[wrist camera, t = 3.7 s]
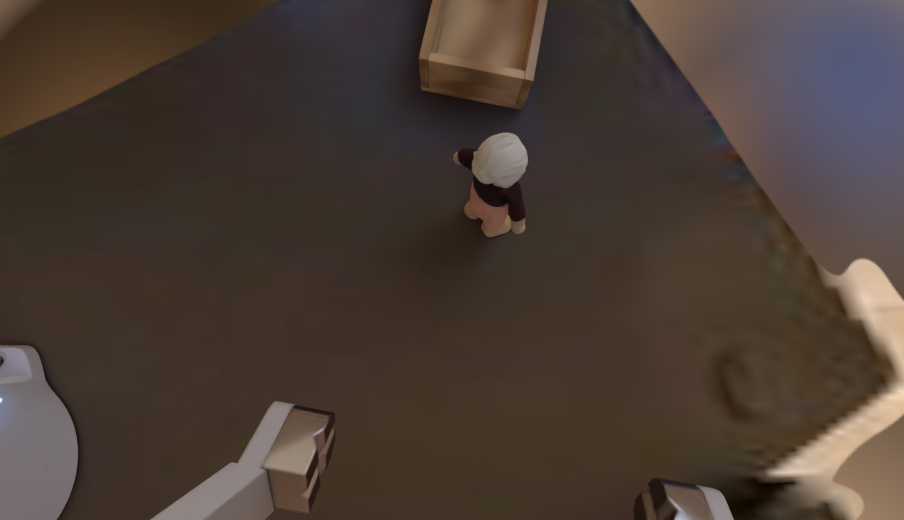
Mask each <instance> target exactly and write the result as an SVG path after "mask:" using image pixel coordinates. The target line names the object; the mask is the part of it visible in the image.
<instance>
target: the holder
mask: <svg viewBox="0 0 904 520" xmlns="http://www.w3.org/2000/svg"><path fill="white" fill-rule="evenodd" d="M547 2H548V0H432V3H431V8H430V12H429V16H428V20H427V25H426V29H425V33H424V37H423V42H422V46H421V50H420V54H419V69H420V83H421V90H423V91H428V92H433V93H438V94H443V95H448V96H453V97H458V98H463V99H468V100H473V101H478V102H484V103H489V104H494V105H499V106H504V107H509V108H514V109H519V110H523V107H524V105H525V102H526V99H527V97H528V94H529V91H530V89H531V86H532V83H533V81H534V75H535V69H536V64H537V58H538V53H539V47H540V41H541V36H542V30H543V25H544V19H545V13H546V8H547Z"/></svg>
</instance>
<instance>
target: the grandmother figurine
mask: <svg viewBox="0 0 904 520" xmlns="http://www.w3.org/2000/svg"><path fill="white" fill-rule="evenodd" d="M453 159H454V162H455V163H456V164H458V165H464V166H465V167H467V168H468V169H470V170H471V171H472V172H473V174H474V175H473V183H472V186H471V193H470V200H469V201H468V203H467V204H466V205H465V207H464V212H465V214H466V215H467V216H468V217H469V218H470V219H477V218H480V219H482V220H483V223H482V225H481V229H482V231H483V233H484V235H486V236H487V237H494V236H497V235H500V234H504V233H506V232H508V231H509V230H510V229H512V231H513V232H514V233H516V234H520V233H522V232H523V231H524V230H525V224H524V223H525V216H526V212H525V208H524V204H523V200H522V191H521V187H520V184H519V182H518V180H519V179H520V178H521V175H522V174H523V173H524V172H525V169H526V166H527V163H528V157H527V151H526V149H525V147H524V145H523V144H522V143H521V141H520V140H519V138H518V137H517V136H516V135H515V134H511V133H500V134H497V135H493V136H491V137H489V138H488V139H486V140H485V141H484V142H483V143H482V144H481V146H480V147H479V149H478V150H475V149H468V148H462V149H460V150H459V151H458V152H456V153H455V154H454V156H453ZM508 212H509V215H508Z"/></svg>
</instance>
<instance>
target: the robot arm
mask: <svg viewBox="0 0 904 520" xmlns="http://www.w3.org/2000/svg"><path fill="white" fill-rule="evenodd" d="M3 359H4V363H3V365H2V360H3ZM334 422H335V413H333V412H328V411H323V410H318V409H313V408H308V407H303V406H298V405H295V404H290V403H284V402H279V401H274V403H273V404H272V405H271V406H270V407H269V408H268V410H267V412H266V414H265V415H264V417H263V419H262V421H261V422H260V424H259V426H258V428H257V429H256V431H255V433H254V435H253V437H252V438H251V440H250V442H249V444H248V445H247V447H246V449H245V451H244V452H243V454H242V456H241V458H240V459H239V461H238V463H232V462H231V463H230V464H228V465H227V466H225V467H224V468H223V469H221V470H220V471H218V472H217V473H215V474H214V475H213V476H211V477H210V478H208V479H207V480H206V481H204V482H203V483H201V484H200V485H198V486H197V487H196V488H194V489H193V490H191V491H190V492H189V493H187V494H186V495H184V496H183V497H181V498H180V499H179V500H177V501H176V502H174V503H173V504H172V505H170V506H169V507H167V508H166V509H164V510H163V511H162V512H160V513H159V514H157V515H156V516H155V517H153V518H152V519H150V520H265V519H266V518H267V517H268V516H269V515H270V514H271V513H272V512H273V511H274V508H278V509H283V510H289V511H295V512H301V513H306V514H309V513H310V510H311V508H312V505H313V503H314V500H315V497H316V495H317V492H318V490H319V487H320V479H319V474H320V473H321V472H322V471H324V470H325V469H326V468H327V466H328V463H329V460H330V458H331V454H332V451H333V447H334V442H335V430H334V429H333V428H332V427H333V425H334ZM77 464H78V443H77V436H76V431H75V428H74V424H73V422H72V419H71V417H70V415H69V413H68V411H67V409H66V407H65V406H64V404H63V403H62V401H61V400H60V399H59V398H58V397H57V395H56V394H55V393H54V392H53V391H52V389H51V388H50V387H49V385H48V384H47V382H46V380H45V375H44V371H43V367H42V363H41V360H40V357H39V354H38V353H37V351H36V350H35V349H34V348H33V347H31V346H27V345H0V520H57V519H58V517H59V515H60V514H61V512H62V510H63V509H64V507H65V505H66V503H67V501H68V498H69V496H70V493H71V491H72V488H73V484H74V481H75V477H76V471H77ZM648 485H649V489H650V490H647V491H644V492H641V493H640V494H639V496H638V497H637V498H636V500H635V506H634V520H734V519H733V517H732V514H731V512H730V510H729V507H728V505H727V502H726V500H725V498H724V496H723V495H722V493H721V492H720V491H718V490H716V489H713V488H708V487H703V486H698V485H694V484H689V483H683V482H678V481H672V480H667V479H661V478H654V479H652V480H651V481H650V482H649V483H648Z"/></svg>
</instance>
